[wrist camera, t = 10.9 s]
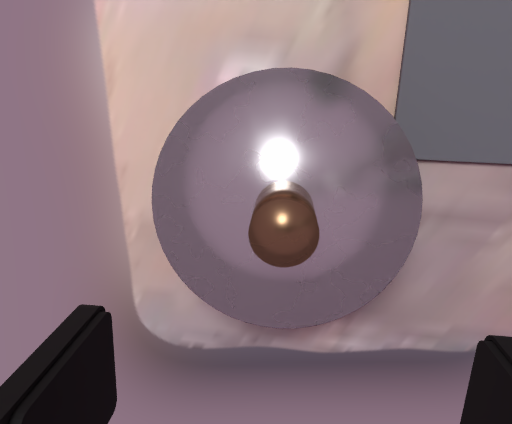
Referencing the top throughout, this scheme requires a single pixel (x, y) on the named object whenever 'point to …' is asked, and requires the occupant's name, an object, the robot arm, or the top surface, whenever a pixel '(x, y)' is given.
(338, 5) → the top surface
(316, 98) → the lid
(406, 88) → the mat
